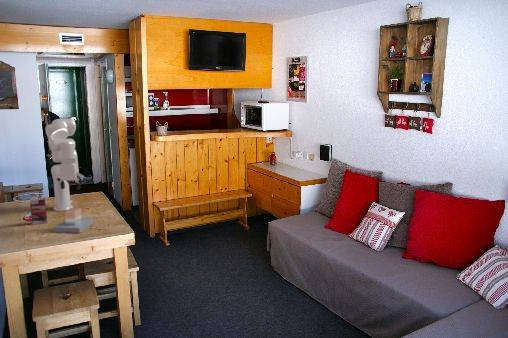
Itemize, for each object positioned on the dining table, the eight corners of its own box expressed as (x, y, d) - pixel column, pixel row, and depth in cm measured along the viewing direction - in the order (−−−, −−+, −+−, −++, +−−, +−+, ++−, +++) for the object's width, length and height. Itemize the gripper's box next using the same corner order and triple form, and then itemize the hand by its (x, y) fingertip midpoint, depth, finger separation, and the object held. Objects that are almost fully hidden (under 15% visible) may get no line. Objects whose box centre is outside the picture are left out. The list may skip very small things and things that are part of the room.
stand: (69, 222, 278) (68, 217, 278) (93, 223, 277) (93, 218, 276) (54, 232, 261) (53, 227, 260) (79, 232, 259) (79, 228, 259)
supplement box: (32, 225, 273) (29, 200, 270) (32, 222, 277) (29, 198, 274) (47, 223, 277) (45, 198, 274) (47, 220, 281) (44, 197, 278)
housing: (65, 224, 265) (64, 212, 263) (72, 220, 273) (71, 208, 271) (75, 225, 264) (74, 212, 263) (81, 220, 272) (80, 208, 270)
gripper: (51, 162, 258) (53, 190, 262) (79, 162, 256) (81, 191, 260) (57, 159, 265) (60, 187, 269) (85, 160, 264) (87, 187, 267)
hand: (70, 188), depth 264 cm, fingers open, 9 cm apart
